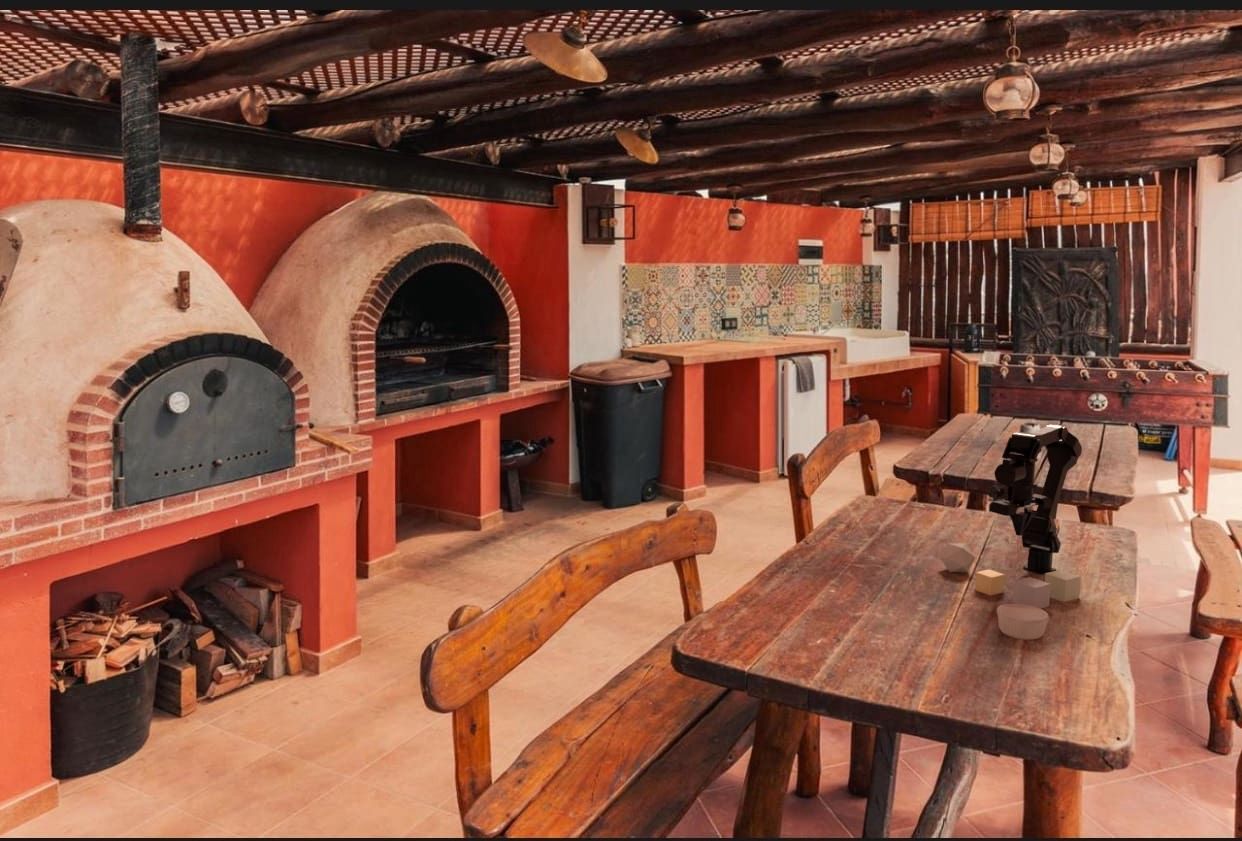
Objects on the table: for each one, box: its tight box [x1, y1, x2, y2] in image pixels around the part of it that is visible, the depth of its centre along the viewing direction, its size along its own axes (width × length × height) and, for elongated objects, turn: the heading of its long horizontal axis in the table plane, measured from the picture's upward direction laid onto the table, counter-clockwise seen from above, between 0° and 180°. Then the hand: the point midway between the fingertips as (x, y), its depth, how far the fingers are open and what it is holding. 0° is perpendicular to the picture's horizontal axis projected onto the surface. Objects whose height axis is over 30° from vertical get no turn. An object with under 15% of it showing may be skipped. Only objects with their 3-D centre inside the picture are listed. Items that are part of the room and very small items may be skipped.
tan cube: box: [1044, 569, 1082, 603], centre depth 237 cm, size 6×6×6 cm
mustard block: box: [974, 569, 1006, 596], centre depth 241 cm, size 5×5×5 cm
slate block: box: [1012, 576, 1051, 610], centre depth 231 cm, size 6×6×6 cm
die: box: [940, 542, 976, 573], centre depth 258 cm, size 8×9×10 cm
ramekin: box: [996, 603, 1049, 641], centre depth 213 cm, size 11×11×5 cm
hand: (1018, 535), depth 248 cm, fingers closed
